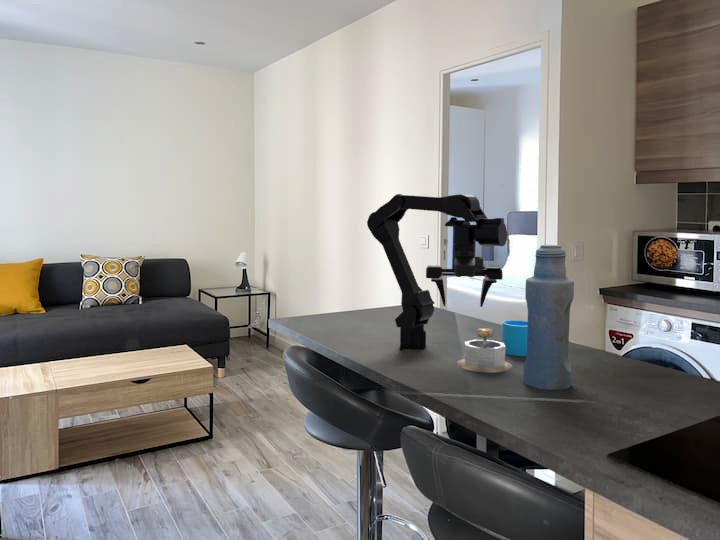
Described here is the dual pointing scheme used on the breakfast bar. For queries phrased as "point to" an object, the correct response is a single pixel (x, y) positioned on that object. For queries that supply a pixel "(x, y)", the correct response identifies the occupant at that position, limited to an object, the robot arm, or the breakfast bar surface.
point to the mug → (515, 337)
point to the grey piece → (484, 355)
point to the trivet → (462, 365)
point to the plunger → (484, 334)
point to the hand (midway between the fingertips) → (462, 306)
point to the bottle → (548, 321)
